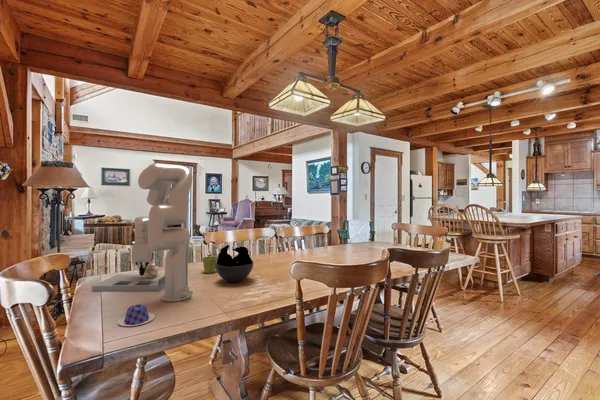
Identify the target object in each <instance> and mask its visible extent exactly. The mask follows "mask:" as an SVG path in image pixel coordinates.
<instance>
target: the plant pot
mask: <svg viewBox="0 0 600 400" xmlns="http://www.w3.org/2000/svg"><path fill="white" fill-rule="evenodd" d="M217 258H218V256H214V255H213V256H211V255H210V256H203V257H201V260H202V262H203V263H202V264H203V270H204V273H205V274H214V273H216V267H215V263H216V262H217Z"/></svg>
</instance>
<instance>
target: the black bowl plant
mask: <svg viewBox="0 0 600 400" xmlns="http://www.w3.org/2000/svg"><path fill="white" fill-rule="evenodd" d="M229 249H230V245H229V244H227V245H225V246H224V247H222V248H220V249H219V253H218V254H217V257H218V258H217V262H216V263H215V267H216V270H215V272H216V273H217V274H218V276H219V277H221V279H223V280H224V281H227V282H229V283H237V282H241V281H242V280H243V281H244V280H245V279H246V278H247V277H249V275H250V274H251V272H252V270H253V268H254V261H253V260H252V258H251V256H250V255H249V254H250V253H249V248H247V247H246V246H239V247H237V246H236V247H235V248H232V251H234V252H235V253H238V254H236V255H235V256H234V257H233V256H232V255H230V253H228V250H229Z"/></svg>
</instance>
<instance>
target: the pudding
mask: <svg viewBox="0 0 600 400" xmlns="http://www.w3.org/2000/svg"><path fill="white" fill-rule="evenodd" d="M155 316H156V315H155V313H152V312H148V310H147V306H146V305H145V304H141V303H140V304H134V305H131V306H130V307H128V308H127V310H126V313H125V316H122V317H121V318H120V319H118V321H117V325H119V326H122V327H134V326H135V327H136V326H139V325H140V326H141V325H144V324H146V323H147V324H148V323H149V322H151V321H153V320H154V319H155Z"/></svg>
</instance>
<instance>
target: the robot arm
mask: <svg viewBox="0 0 600 400" xmlns="http://www.w3.org/2000/svg"><path fill="white" fill-rule="evenodd" d="M137 183H138V186H139V188H140V189H142V190H148V194H147V197H146V201H147V203H148V205H150V206H151V207H150V209H149V212H148V216H137V217H135V218H134V242H133V243H132V247H131V248H132V249H131V264H132V265H136V266H137V268H138V274H140V276H141V275H142V276H143V275H144V272H145V270H146V267H147V266H148V265H150V264H151V265H153V264H154V263H155V262H154V260H155V252H163V251H167V250H168V252H167V254H166V255H165V259H164V274H165V288H164V293H163V294H161V296H160V299H161V301H163V302H168V303H169V302H180V301H181V302H182V301H185V300H187V299H189V298H191V297H192V295H193V293H194V292H193V290H190V286H188V285H189V283H188V280H189V279H188V277H189V273H188V272H189V270H188V269H189V264H188V263H189V247H190V242H191V234H190V233H191V232H190V231H189V230H188V228H186V227H183V226H178V225H182V224H185V223H187V220H188V218H189V217H188V215H189V198H190V192H191V188H192V186H193V185H192V184H193V173H192V170H191V169H190V168H189V167H187V166H184V165H181V164H171V163H157V162H155V163H152V164H149V165H148V166H147V167H145V169H143V170H142V171H141V173H140V174H139V176H138V180H137ZM172 184H174V185H172ZM166 202H167V203H166ZM176 225H177V226H176ZM168 226H174V227H168ZM175 226H176V227H175Z"/></svg>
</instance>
